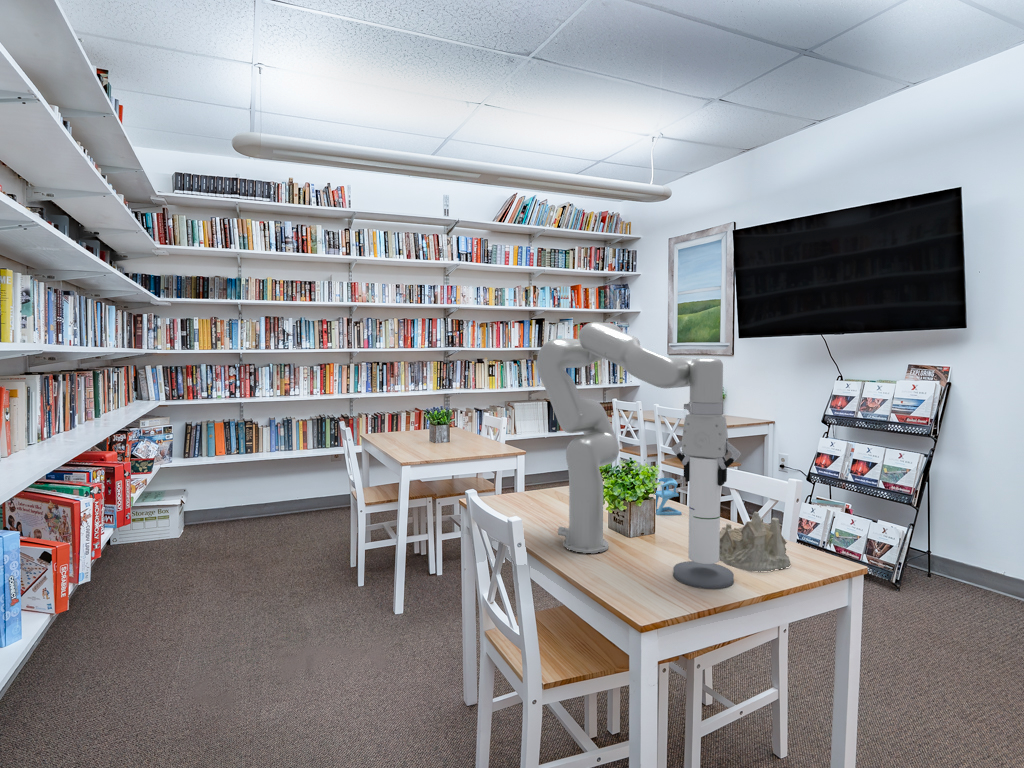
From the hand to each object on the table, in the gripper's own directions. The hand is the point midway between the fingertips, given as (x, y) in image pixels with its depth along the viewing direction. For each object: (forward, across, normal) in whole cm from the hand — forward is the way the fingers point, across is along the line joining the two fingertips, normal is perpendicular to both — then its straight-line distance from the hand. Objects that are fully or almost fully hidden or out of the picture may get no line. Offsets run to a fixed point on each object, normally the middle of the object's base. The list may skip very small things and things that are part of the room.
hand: (704, 482), depth 140 cm
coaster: (+23, 0, 0) cm, 23 cm away
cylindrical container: (+19, 0, 0) cm, 19 cm away
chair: (+24, -28, +51) cm, 63 cm away
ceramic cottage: (+24, +7, +19) cm, 31 cm away
